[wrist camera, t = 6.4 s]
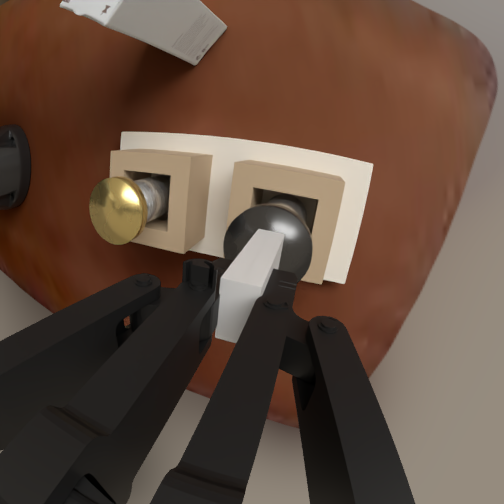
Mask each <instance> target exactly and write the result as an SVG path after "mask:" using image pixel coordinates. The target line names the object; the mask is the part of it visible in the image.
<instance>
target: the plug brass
mask: <svg viewBox="0 0 504 504" xmlns="http://www.w3.org/2000/svg"><path fill="white" fill-rule="evenodd" d="M170 180H171V175H165V174H162V175H157V176H153V177H149V178H144V179H140V180H136V181H132V180H131V179H129V178H127V177H123V176H116V177H111V178H107V179H104V180H102V181H101V182H99V183H98V184H97V185H96V187H95V188H94V190H93V192H92V194H91V198H90V206H89V208H90V216H91V220H92V223H93V225H94V227H95V229H96V231H97V232H98V233H99V235H100V236H101V237H102V238H103V239H105V240H106V241H107V242H109V243H112V244H116V245H122V244H126V243H128V242H129V241H131V240H133V239H135V238H137V237H138V236H139V235H140V234H141V233H142V231H143V230H144V228H145V225H146V223H147V222H149V221H151V220H153V219H156V218H158V217H160V216H162V215H164V214H166V213H168V210H169V194H170Z"/></svg>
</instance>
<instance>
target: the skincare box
mask: <svg viewBox="0 0 504 504" xmlns="http://www.w3.org/2000/svg"><path fill="white" fill-rule="evenodd" d="M60 7H61V8H64V9H67V10H70V11H73V12H74V13H75V14H76V15H82V16H85V17H87V18H89V19H92V20H94V21H96V22H98V23H99V24H101V25H103V26H105V27H107V28H110V29H113V30H116V31H118V32H121V33H123V34H126V35H128V36H131V37H133V38H136V39H138V40H141V41H143V42H145V43H148V44H150V45H152V46H154V47H157V48H159V49H161V50H163V51H165V52H167V53H170V54H172V55H174V56H176V57H178V58H180V59H182V60H184V61H186V62H188V63H190V64H192V65H194V66H195V65H197V64H198V62H199V61H200V60H201V59H202V57H203V56H204V54H205V53H206V52H207V51H208V50H209V48H210V47H211V46H212V45H213V44H214V43H215V42H216V40H217V39H218V38H219V37H220V35H222V33H223V32H224V31H225V30H226V29H227V26H226V25H225V24H224V23H223V22H222V21H221V20H220V19H219V18H218V17H217V16H216V15H215V14H214V13H212V12H211V11H210V10H209V9H208V8H207V7H206V6H205V5H204V4H203V3H202V2H201V1H200V0H63V1H62V2H61V4H60Z"/></svg>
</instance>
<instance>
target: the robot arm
mask: <svg viewBox="0 0 504 504" xmlns="http://www.w3.org/2000/svg"><path fill="white" fill-rule="evenodd" d="M30 173H31V160H30V150H29V145H28V141H27V138H26V135H25V133H24V131H23V130H22V129H21V128H20V127H19V126H18V125H15V124H13V125H4V126H1V127H0V209H1V210H8V209H11V208H14V207H17V206H19V205H20V204H21V203H22V202H23V201H24V199H25V197H26V194H27V191H28V187H29V182H30ZM284 236H285V234H282V233H277V232H273V231H268V230H263V229H258V230H257V231H256V233H255V234H254V235H253V236H252V238H251V239H250V240H249V242H248V243H247V244H246V245H245V247H244V248H243V249H242V251H241V252H240V253H239V255H238V256H237V257H236V258H235V260H229V259H225V258H219V259H217V260H214V261H213V262H212V261H209V260H206V259H190V260H186V261H184V262H183V279H182V283H181V284H180V285H179V286H178V287H177V288H163V287H161V282H160V280H159V278H157V277H156V276H154V275H151V274H145V273H143V274H137V275H134V276H131V277H129V278H127V279H125V280H123V281H121V282H118V283H116V284H114V285H112V286H110V287H108V288H106V289H104V290H102V291H99V292H97V293H95V294H93V295H91V296H89V297H87V298H85V299H83V300H81V301H79V302H77V303H75V304H73V305H71V306H69V307H67V308H65V309H62V310H60V311H58V312H56V313H54V314H52V315H50V316H48V317H46V318H44V319H42V320H40V321H39V322H37V323H35V324H33V325H31V326H29V327H27V328H25V329H23V330H21V331H19V332H17V333H15V334H13V335H11V336H9V337H7V338H6V339H4V340H2V341H0V450H3V449H4V450H3V451H2V452H1V453H0V504H126V503H127V501H128V499H129V497H130V494H131V489H132V482H133V479H134V477H135V476H136V474H137V472H138V470H139V469H140V467H141V465H142V464H143V462H144V460H145V458H146V457H147V455H148V453H149V452H150V450H151V448H152V446H153V445H154V443H155V441H156V439H157V438H158V436H159V434H160V432H161V431H162V429H163V427H164V426H165V424H166V422H167V421H168V419H169V417H170V415H171V414H172V412H173V410H174V408H175V407H176V405H177V403H178V401H179V399H180V398H181V396H182V394H183V393H184V391H185V389H186V387H187V386H188V384H189V382H190V380H191V379H192V377H193V375H194V373H195V372H196V370H197V368H198V366H199V365H200V363H201V361H202V359H203V358H204V356H205V354H206V352H207V351H208V349H209V347H210V345H211V341H212V333H213V332H214V330H215V328H216V333H215V338H219V339H222V340H226V341H230V342H234V343H236V345H235V347H234V350H233V352H232V354H231V356H230V358H229V360H228V363H227V365H226V367H225V369H224V371H223V373H222V375H221V378H220V380H219V382H218V384H217V386H216V388H215V390H214V392H213V395H212V397H211V399H210V401H209V403H208V405H207V407H206V409H205V411H204V414H203V415H202V418H201V420H200V422H199V424H198V426H197V428H196V430H195V432H194V434H193V436H192V438H191V440H190V442H189V444H188V446H187V448H186V450H185V452H184V454H183V457H182V458H181V460H180V462H179V464H178V466H177V467H176V468H174V469H171V470H170V471H169V472H168V473H167V474H166V475H165V477H164V479H163V480H162V482H161V484H160V486H159V488H158V489H157V491H156V493H155V495H154V497H153V499H152V501H151V503H150V504H242V502H243V498H244V495H245V490H246V486H247V483H248V480H249V476H250V473H251V470H252V466H253V463H254V460H255V456H256V453H257V449H258V446H259V442H260V439H261V435H262V431H263V428H264V424H265V421H266V417H267V413H268V409H269V405H270V402H271V398H272V394H273V390H274V386H275V382H276V378H277V374H278V369H281V370H283V371H285V372H287V373H289V374H291V375H293V376H292V383H293V389H294V396H295V402H296V409H297V415H298V422H299V429H300V435H301V442H302V448H303V456H304V462H305V470H306V476H307V484H308V491H309V499H310V504H415V502H414V498H413V495H412V492H411V489H410V486H409V484H408V480H407V477H406V475H405V472H404V469H403V466H402V463H401V460H400V458H399V455H398V452H397V450H396V447H395V444H394V441H393V439H392V436H391V434H390V431H389V428H388V426H387V423H386V421H385V418H384V415H383V413H382V411H381V408H380V406H379V403H378V401H377V398H376V396H375V393H374V391H373V388H372V386H371V384H370V381H369V379H368V377H367V374H366V372H365V369H364V367H363V365H362V363H361V360H360V358H359V356H358V353H357V351H356V349H355V347H354V344H353V342H352V340H351V338H350V335H349V333H348V331H347V329H346V327H345V326H344V324H343V323H341V322H340V321H338V320H337V319H335V318H332V317H327V316H317V317H314V318H312V319H311V320H310V321H309V322H308V321H306V320H304V319H302V318H300V317H299V316H297V315H296V314H295V313H294V311H293V309H292V305H293V300H294V295H295V290H296V285H297V280H298V278H297V277H296V275H295V273H292V272H287V271H283V270H278V268H279V263H280V257H281V252H282V247H283V241H284ZM127 316H129V317H130V324H129V325H128V326H124V320H123V319H124V318H126V317H127Z"/></svg>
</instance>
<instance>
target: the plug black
mask: <svg viewBox="0 0 504 504" xmlns="http://www.w3.org/2000/svg"><path fill="white" fill-rule="evenodd" d="M306 219H307V212H306V208H305V206H304V204H303V203H302V202H301V201H300V200H299V199H298V198H297V197H295V196H293V195H290V194H279V195H276V196H274V197H273V198H271V199H270V200H269V201H268V202H267V203H265V204H258V205H255V206H252V207H250V208H248V209H246V210H245V211H243V212H242V213H241V214H240V215H239V216H237V217H236V218H235V219H234V220H233V221H232V222H231V224H230V225H229V227H228V229H227V231H226V234H225V237H224V242H223V251H224V257H225V259H229V260H235V258H236V257H237V256H238V255H239V253H240V252H241V251H242V249H243V248H244V247H245V245H246V244H247V243H248V242H249V240H250V239H251V238H252V236H253V235H254V234H255V233H256V231H257V230H258V229H263V230H268V231H273V232H277V233H282V234H285V236H284V241H283V247H282V252H281V257H280V263H279V268H278V270H283V271H287V272H292V273H295V275H296V277H297V278H298V280H297V283H298V282H299V281H300V280H301V279H302V278H303V277H304V276H305V274H306V272H307V271H308V269H309V267H310V264H311V260H312V251H313V242H312V237H311V233H310V231H309V228H308V226H307V225H306Z"/></svg>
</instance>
